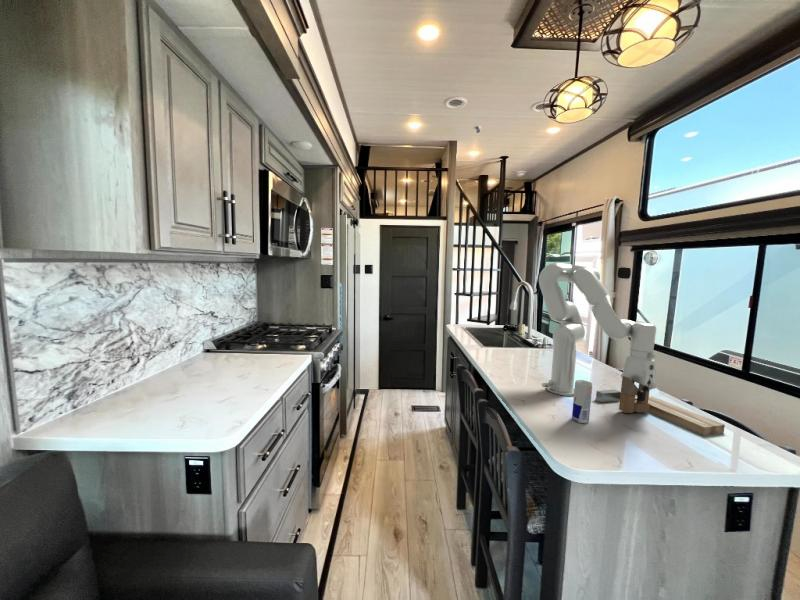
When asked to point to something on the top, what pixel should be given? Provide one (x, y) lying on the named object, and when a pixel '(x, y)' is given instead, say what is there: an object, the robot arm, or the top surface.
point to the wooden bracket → (632, 398)
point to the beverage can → (582, 401)
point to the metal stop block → (608, 395)
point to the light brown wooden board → (684, 417)
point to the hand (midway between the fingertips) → (635, 398)
